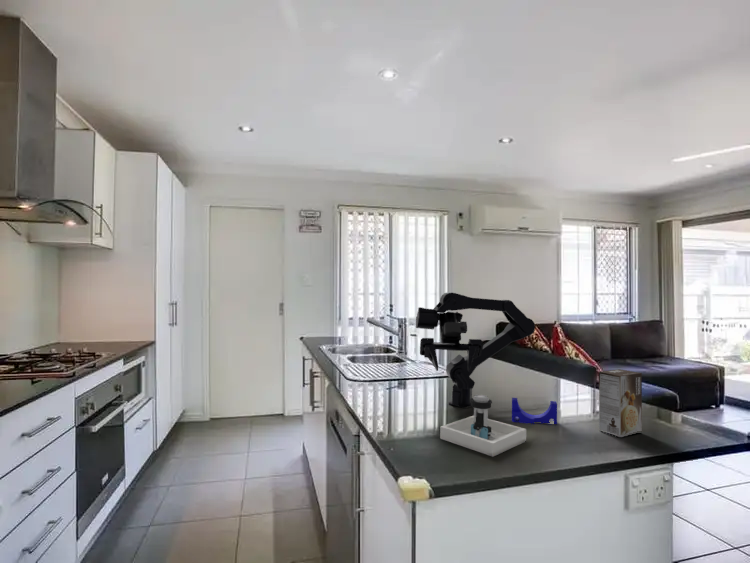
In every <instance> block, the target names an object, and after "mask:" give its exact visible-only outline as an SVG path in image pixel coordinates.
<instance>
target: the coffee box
mask: <svg viewBox="0 0 750 563" xmlns="http://www.w3.org/2000/svg"><path fill="white" fill-rule="evenodd" d="M642 375H643V373H642V372H637V371H632V370H625V369H618V368H617V369H610V370H603V371H599V372H598V430H599V429H600V430H603V431H607V432H610V433H614V434H617V435H625V434H629V433H633V432H637V431H642V432H643V429H642V428H643V422H642V421H643V418H642V417H643V415H642V414H643V411H642V410H643V408H642V406H643V403H642V402H643V399H642V398H643V397H642V396H643V395H642V394H643V391H642V390H643V388H642V387H643V378H642Z"/></svg>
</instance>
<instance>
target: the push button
mask: <svg viewBox="0 0 750 563" xmlns="http://www.w3.org/2000/svg"><path fill="white" fill-rule="evenodd" d="M470 402H471V406H470V407H472V408H473V416H474V421H473V423H474V424H471V435H474V436H477V437H480V438H484V439H488V438H492V439H495V438H494V437H492V436H491V434H492V435H495V434H493V433H491V427H489V426H488V419H489V410H490V409H491V408H492V404H493V400H492V399H489V396H487V395H486V394H474V395H473V397H472V398H471V399H470Z"/></svg>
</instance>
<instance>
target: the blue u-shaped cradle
mask: <svg viewBox="0 0 750 563" xmlns="http://www.w3.org/2000/svg"><path fill="white" fill-rule="evenodd" d="M551 420H552V421H554V424H557V425H558V403H557V401H555V400H554V401H553V400H550V402H549V406H548V407H547V410H545V411H544V412H543V413H539V414H530V413H527V412H526V411H525V410H523V408H521V406H520V404H519V400H518V397H511V422H512V423H518V422H519V423H520V424H528V423H531V424H530V425H535V423H534V422H541V423H540V424H543V423H550V422H549V421H551ZM519 423H518V424H519ZM532 423H533V424H532Z"/></svg>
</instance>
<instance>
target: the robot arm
mask: <svg viewBox="0 0 750 563" xmlns="http://www.w3.org/2000/svg"><path fill="white" fill-rule="evenodd" d="M417 309H418V310H417V313H416V316H415V328H416V329H422V330H423V329H424V330H432V331H433V330H435V328H437V327H438V326H439V334H440V335H439V336H440V342H436V341H434V340H435V339H434V337H432V338H431V337H421V338H420V343H419V354H420V355H421V356H424V358H427V359H428V360H429V361H430V362H431V364H432V365H433V367H434V369H435V371H437V372H438V371H439V362H438V356H437V352H436V351H437V350H441V351H444V350H445V351H453V352H454V351H458V352H459V351H462V352H463V351H465V352H466V353H467V355H466V356H462V355H461V354H458V355H456V356H455V357H454V358H453V359H450V360H448V361H449V363H448V364H447V365H446V367H445V373H446V375H447V376H448V378H449V379H451V381H452V383H453V385H452V391H451V393H452V394H451V401H449V402H448V404H449V405H451V406H455V407H459V408H463V409H466V408H470V407H472V406H471V402H470V399H471V398H473V389H474V386H475V384H476V382H475V381H474V380H473V379H472V378H471V375H472V374H473V373H474V372H475V370H476V368H478V366H480V365H481V364H483V363H484V362H486V360H488V359H490V358H491V357H493V356H494V355H495V354H497V353H498V352H500V351H501V350H502V349H504V348H506V347H508V345H510V344H511V343H513V342H518V341H519V340H523V339H525V338H527V337H529V336H532V335H533V334H534V332H535V330H536V324H535V321H534V320H533V319H532V318H528V317H527V316H526V315H525V313H524V312H522V310H520V308H519V307H517V306H516V305H515V303H514V302H513V301H512V300H509V299H501V300H500V299H490V298H479V297H470V296H466V295H464V294H459V293H456V292H448V291H447V292H445V293H443V294H441V296H440V298H439V301H438V303H437V304H436V305H435V306H434V308H425V307H420V306H419V307H418V308H417ZM468 309H469V310H482V311H483V310H484V311H493V312H494V311H496V312H502V314H503V315H504V317H505V318H506V321H508V324H506V326H505V327H504V330H502V331H501V332H500V333H499V334H497V335H496V336H494V337H493V338H492V339H490V340H489V341H487V342H485V343H484V342H483V340H482V339H480V338H469V339H468V341H467V343H461V342H460V341H462V335H461V334H466V333H467V332H468V323H467V321H462V320H463V316H464V315H463V313H461V312H460V313H459V312H458V311H462V310H468ZM452 311H456V312H452Z"/></svg>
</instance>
